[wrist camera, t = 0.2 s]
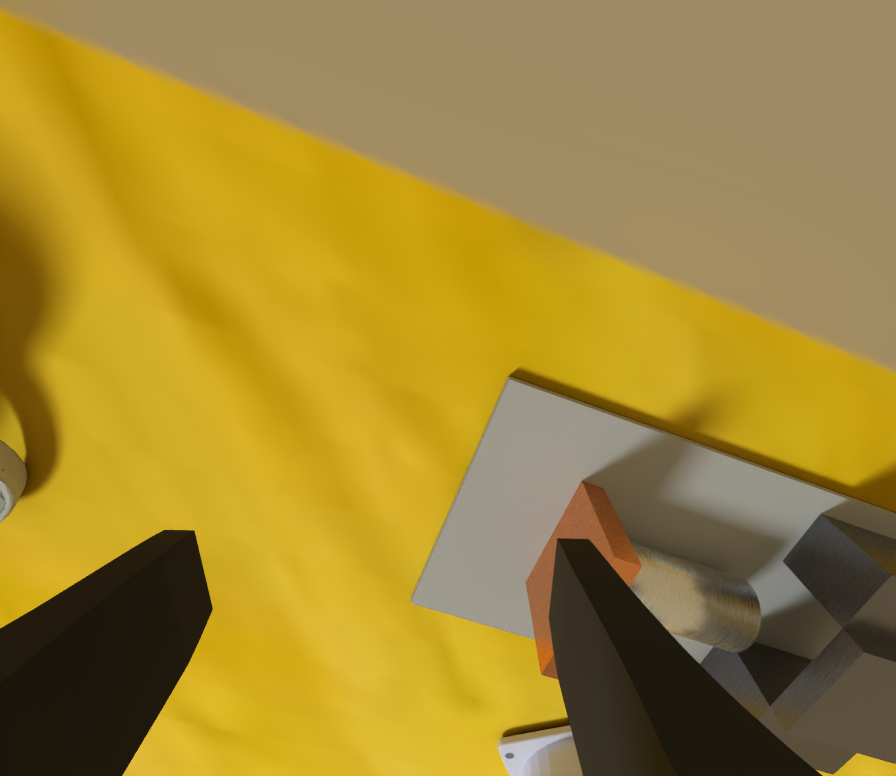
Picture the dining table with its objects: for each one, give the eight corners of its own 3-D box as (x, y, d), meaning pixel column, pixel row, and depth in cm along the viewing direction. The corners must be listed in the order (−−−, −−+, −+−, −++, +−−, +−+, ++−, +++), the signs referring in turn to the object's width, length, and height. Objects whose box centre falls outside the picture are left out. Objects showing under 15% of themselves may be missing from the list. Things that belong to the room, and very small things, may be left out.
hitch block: (919, 547, 20) (1039, 638, 16) (782, 695, 24) (851, 801, 20) (820, 513, 20) (917, 597, 15) (694, 670, 23) (746, 772, 19)
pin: (750, 537, 20) (826, 624, 16) (680, 629, 22) (731, 729, 18) (581, 480, 19) (614, 557, 15) (525, 582, 21) (541, 674, 17)
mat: (975, 541, 20) (984, 547, 20) (807, 713, 25) (812, 720, 24) (508, 375, 18) (509, 379, 18) (411, 596, 22) (410, 603, 22)
